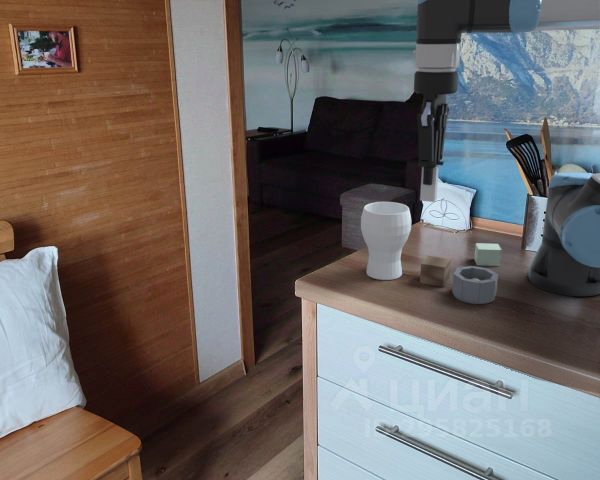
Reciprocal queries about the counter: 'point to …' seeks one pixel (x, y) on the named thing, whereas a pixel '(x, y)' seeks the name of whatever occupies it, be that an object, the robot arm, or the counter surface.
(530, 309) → the counter surface
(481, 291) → the ramekin
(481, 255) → the sage block
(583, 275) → the robot arm
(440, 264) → the walnut box
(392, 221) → the cup
